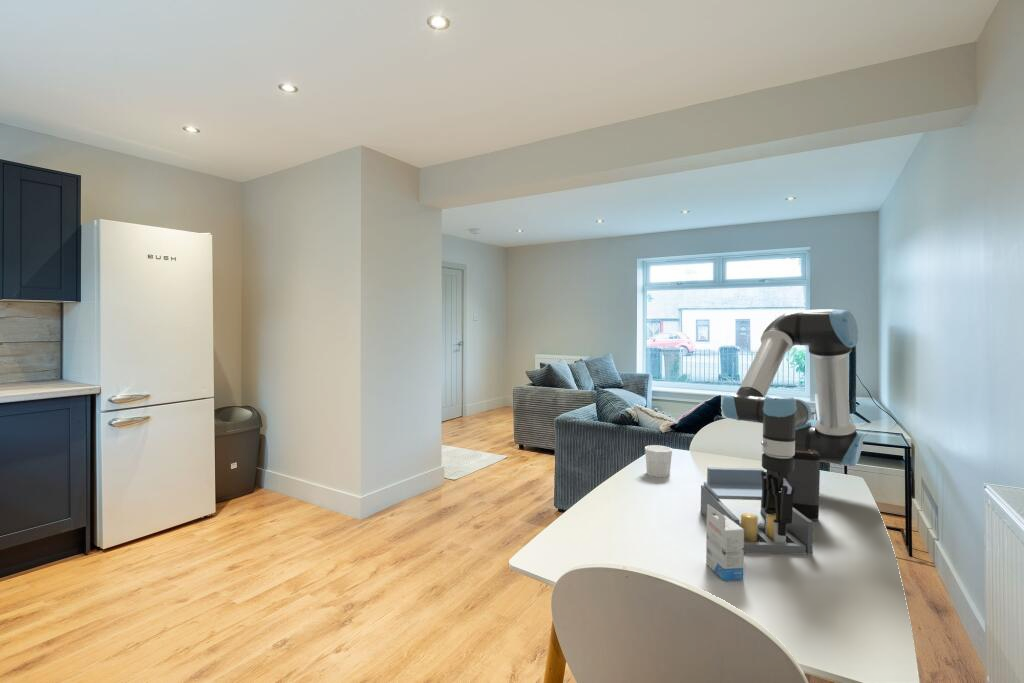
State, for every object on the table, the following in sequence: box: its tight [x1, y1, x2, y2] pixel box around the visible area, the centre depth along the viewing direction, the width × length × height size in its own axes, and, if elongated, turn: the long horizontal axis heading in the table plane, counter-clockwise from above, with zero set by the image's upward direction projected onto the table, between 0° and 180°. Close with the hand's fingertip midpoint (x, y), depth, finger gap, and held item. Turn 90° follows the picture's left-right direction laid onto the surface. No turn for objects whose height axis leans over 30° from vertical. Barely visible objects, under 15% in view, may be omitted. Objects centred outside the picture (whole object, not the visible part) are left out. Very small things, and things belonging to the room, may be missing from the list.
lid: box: [703, 466, 765, 501], centre depth 142 cm, size 18×12×6 cm, turn 86°
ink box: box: [705, 504, 745, 582], centre depth 113 cm, size 9×5×15 cm, turn 5°
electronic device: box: [788, 449, 821, 522], centre depth 146 cm, size 9×6×20 cm, turn 71°
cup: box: [644, 444, 673, 478], centre depth 187 cm, size 10×10×10 cm
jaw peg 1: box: [740, 512, 759, 542], centre depth 129 cm, size 4×4×7 cm
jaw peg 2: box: [767, 514, 776, 543], centre depth 128 cm, size 4×4×7 cm
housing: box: [700, 484, 814, 555], centre depth 136 cm, size 19×27×8 cm
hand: (775, 542), depth 128 cm, fingers closed on jaw peg 2, 4 cm apart
